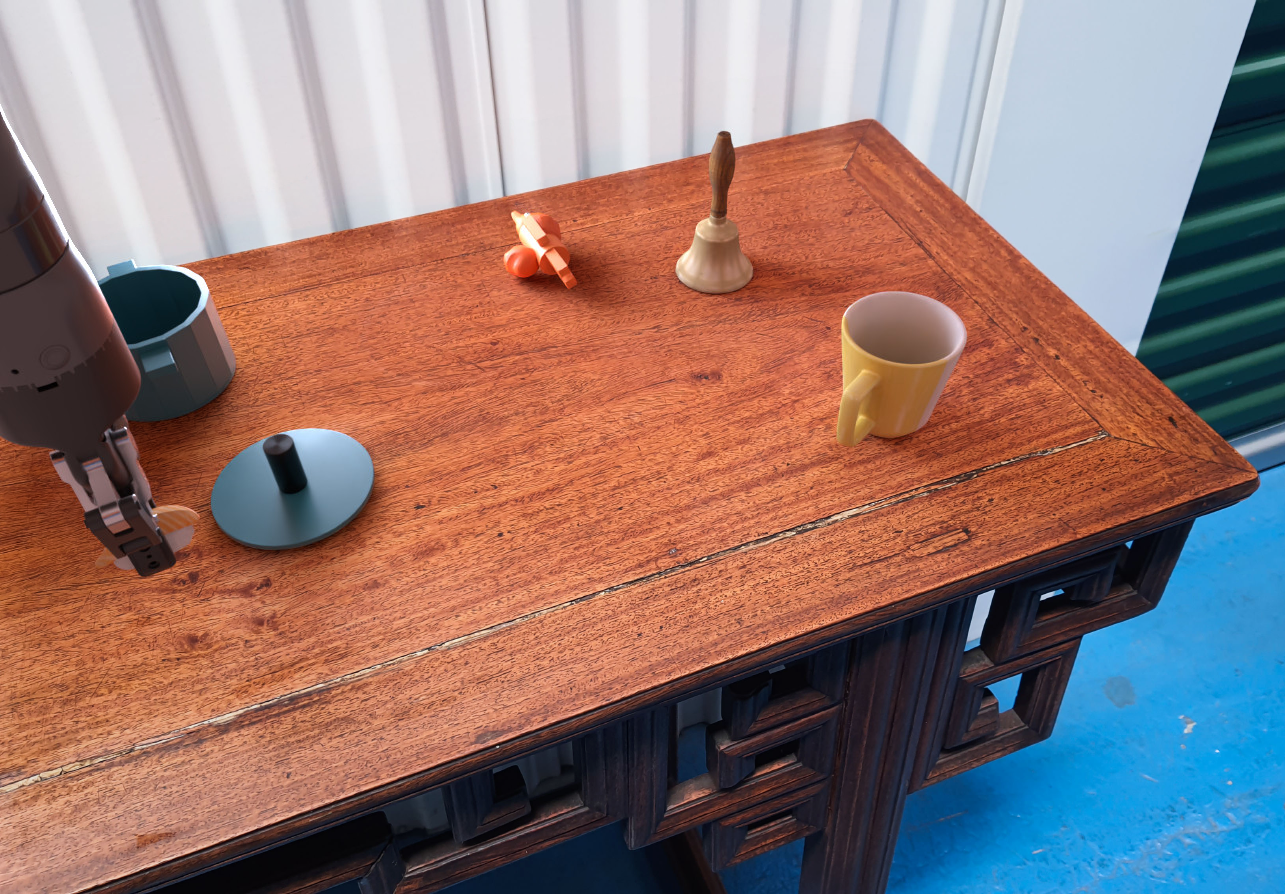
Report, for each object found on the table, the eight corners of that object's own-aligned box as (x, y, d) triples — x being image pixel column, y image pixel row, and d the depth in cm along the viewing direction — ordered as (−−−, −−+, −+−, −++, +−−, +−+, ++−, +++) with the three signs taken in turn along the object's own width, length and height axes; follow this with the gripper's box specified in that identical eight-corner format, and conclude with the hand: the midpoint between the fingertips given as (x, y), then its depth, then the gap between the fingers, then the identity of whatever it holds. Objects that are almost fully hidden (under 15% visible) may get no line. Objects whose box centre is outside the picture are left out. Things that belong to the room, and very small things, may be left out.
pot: (119, 458, 87) (79, 387, 81) (84, 347, 98) (46, 277, 92) (259, 408, 92) (231, 336, 86) (211, 307, 103) (183, 237, 96)
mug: (877, 364, 95) (896, 274, 88) (964, 420, 90) (992, 329, 82) (777, 430, 89) (788, 339, 82) (864, 494, 84) (885, 403, 76)
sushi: (212, 541, 63) (197, 510, 61) (108, 590, 60) (88, 559, 58) (198, 515, 64) (182, 484, 62) (96, 562, 62) (76, 531, 59)
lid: (238, 580, 78) (214, 532, 74) (197, 473, 86) (174, 424, 82) (399, 512, 83) (386, 464, 78) (346, 417, 91) (331, 368, 87)
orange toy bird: (581, 246, 99) (536, 189, 107) (518, 285, 99) (477, 225, 107) (598, 280, 103) (553, 223, 111) (537, 318, 103) (496, 258, 110)
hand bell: (755, 251, 109) (767, 114, 97) (750, 297, 103) (762, 157, 91) (680, 245, 109) (683, 109, 98) (670, 290, 104) (673, 151, 92)
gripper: (-63, 283, 53) (72, 500, 65) (-40, 445, 44) (110, 659, 56) (87, 242, 55) (189, 458, 68) (136, 388, 47) (242, 604, 59)
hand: (152, 548), depth 62 cm, fingers closed on sushi, 2 cm apart
